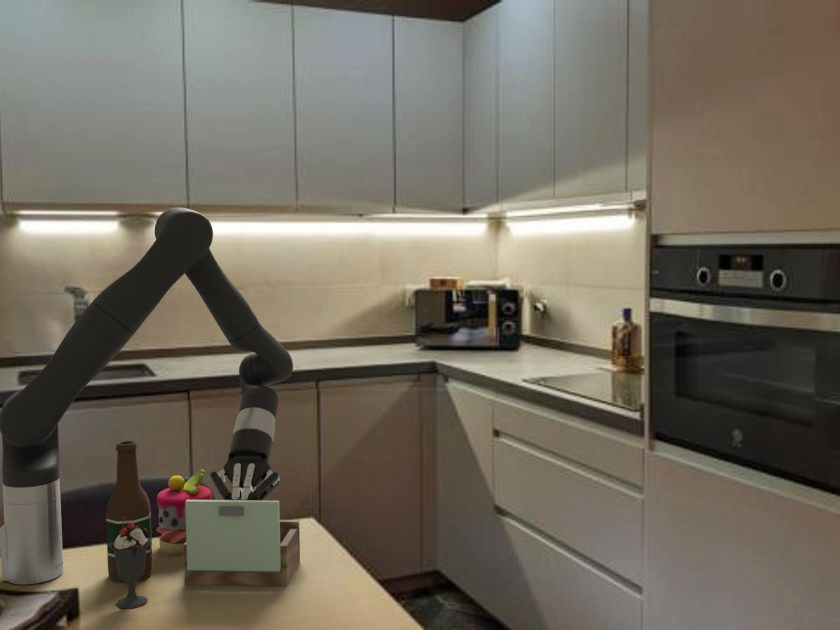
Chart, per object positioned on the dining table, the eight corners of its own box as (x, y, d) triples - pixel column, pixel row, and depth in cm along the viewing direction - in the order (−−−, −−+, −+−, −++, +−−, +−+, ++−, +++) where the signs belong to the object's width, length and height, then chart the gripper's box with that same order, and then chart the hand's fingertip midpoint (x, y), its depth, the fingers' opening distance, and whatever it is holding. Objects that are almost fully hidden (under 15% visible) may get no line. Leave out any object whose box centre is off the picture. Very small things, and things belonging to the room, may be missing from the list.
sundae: (114, 614, 139) (111, 522, 138) (108, 599, 145) (104, 510, 144) (156, 606, 142) (153, 515, 141) (148, 592, 148) (146, 505, 147)
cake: (165, 560, 164) (163, 481, 162) (152, 543, 173) (149, 469, 171) (220, 550, 169) (218, 473, 168) (204, 534, 178) (202, 462, 177)
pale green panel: (185, 573, 149) (183, 502, 148) (189, 570, 151) (187, 499, 150) (278, 575, 148) (277, 503, 147) (280, 571, 150) (279, 500, 149)
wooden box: (184, 583, 152) (183, 538, 151) (204, 560, 163) (203, 518, 162) (287, 585, 151) (286, 540, 150) (300, 562, 162) (299, 519, 161)
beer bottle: (139, 584, 151) (135, 448, 150) (98, 581, 153) (93, 446, 151) (161, 568, 159) (157, 438, 157) (122, 565, 161) (118, 437, 159)
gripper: (213, 426, 161) (194, 511, 150) (284, 426, 160) (270, 512, 149) (222, 448, 167) (204, 532, 155) (291, 448, 166) (278, 533, 155)
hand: (237, 522), depth 152 cm, fingers closed
